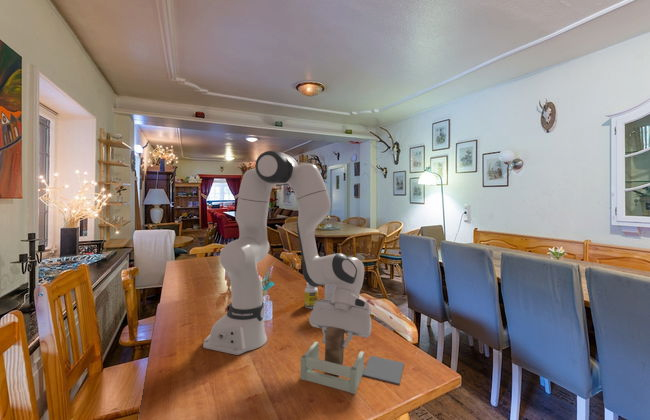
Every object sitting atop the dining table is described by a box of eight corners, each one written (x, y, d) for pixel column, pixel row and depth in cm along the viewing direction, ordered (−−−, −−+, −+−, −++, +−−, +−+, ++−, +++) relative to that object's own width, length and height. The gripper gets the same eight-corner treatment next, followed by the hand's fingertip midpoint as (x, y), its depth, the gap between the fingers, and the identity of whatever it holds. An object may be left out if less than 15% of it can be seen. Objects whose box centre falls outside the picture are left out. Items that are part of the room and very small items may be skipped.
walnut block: (324, 366, 88) (325, 331, 87) (329, 359, 92) (330, 325, 91) (338, 370, 86) (339, 334, 85) (343, 362, 90) (344, 328, 89)
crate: (300, 379, 85) (300, 357, 85) (314, 360, 95) (314, 341, 94) (355, 394, 79) (355, 371, 79) (364, 372, 89) (364, 352, 88)
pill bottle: (306, 309, 136) (306, 285, 136) (303, 304, 143) (303, 281, 142) (319, 308, 138) (319, 284, 137) (316, 303, 144) (316, 280, 144)
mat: (362, 375, 87) (362, 374, 87) (370, 356, 97) (370, 355, 97) (399, 384, 83) (399, 383, 83) (404, 364, 93) (404, 362, 93)
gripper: (313, 294, 98) (300, 334, 89) (373, 303, 90) (364, 349, 82) (318, 302, 102) (306, 341, 94) (375, 312, 95) (367, 356, 86)
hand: (334, 345), depth 88 cm, fingers closed on walnut block, 4 cm apart
